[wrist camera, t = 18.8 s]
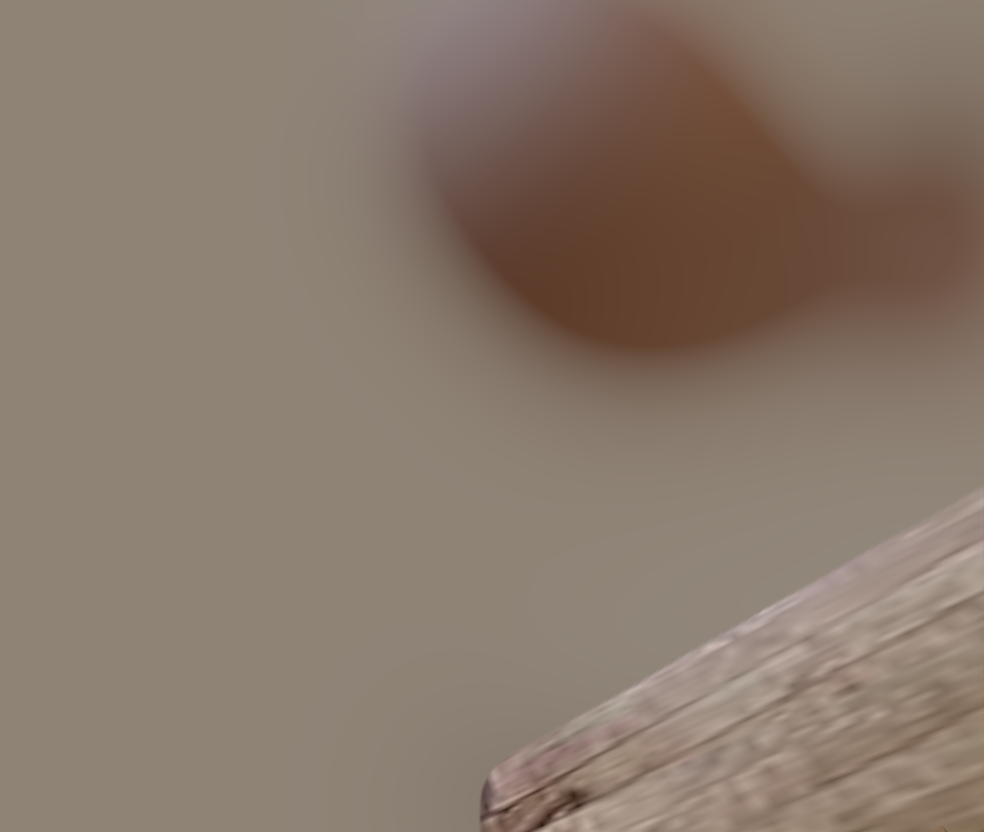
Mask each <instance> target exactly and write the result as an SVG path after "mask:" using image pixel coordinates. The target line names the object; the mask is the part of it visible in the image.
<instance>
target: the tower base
mask: <svg viewBox="0 0 984 832" xmlns="http://www.w3.org/2000/svg"><path fill="white" fill-rule="evenodd" d="M928 832H947V831H946V830H945V828H944V827H943V826H941V827H939V828H936V829H934V830H931V831H928Z"/></svg>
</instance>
